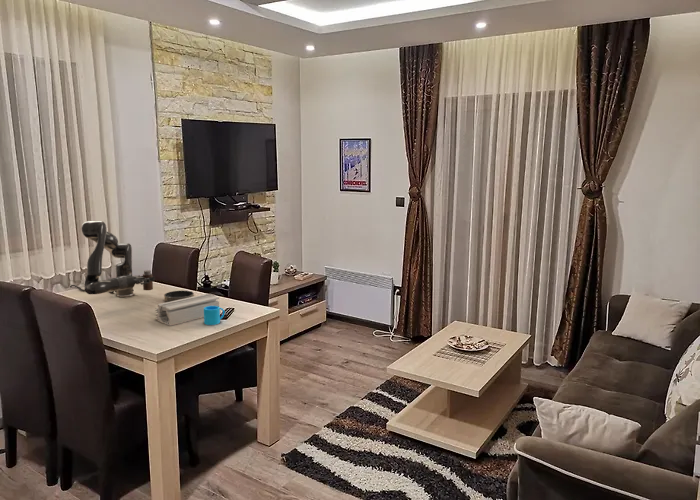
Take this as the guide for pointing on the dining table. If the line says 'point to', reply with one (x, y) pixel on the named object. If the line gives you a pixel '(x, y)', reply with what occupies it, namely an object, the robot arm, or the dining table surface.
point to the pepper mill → (150, 285)
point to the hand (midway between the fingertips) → (151, 277)
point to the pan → (177, 295)
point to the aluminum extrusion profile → (185, 309)
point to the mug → (212, 315)
